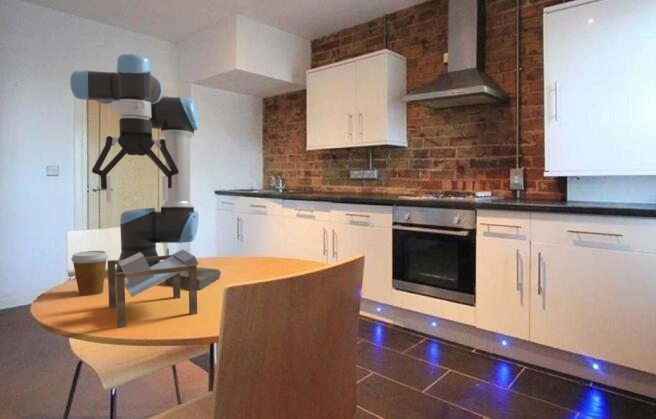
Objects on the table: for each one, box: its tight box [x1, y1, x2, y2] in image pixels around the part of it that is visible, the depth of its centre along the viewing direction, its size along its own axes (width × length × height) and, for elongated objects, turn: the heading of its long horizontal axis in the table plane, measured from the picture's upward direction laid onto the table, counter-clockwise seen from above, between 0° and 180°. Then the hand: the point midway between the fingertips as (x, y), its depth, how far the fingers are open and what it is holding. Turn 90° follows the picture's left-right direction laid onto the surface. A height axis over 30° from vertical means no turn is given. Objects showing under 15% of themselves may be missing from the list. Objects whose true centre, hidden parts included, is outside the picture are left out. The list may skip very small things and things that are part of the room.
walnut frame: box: [107, 253, 198, 329], centre depth 105 cm, size 18×18×13 cm
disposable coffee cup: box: [70, 250, 109, 296], centre depth 121 cm, size 10×10×12 cm
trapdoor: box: [124, 248, 199, 298], centre depth 106 cm, size 15×17×2 cm
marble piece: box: [164, 267, 222, 291], centre depth 134 cm, size 17×15×4 cm
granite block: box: [118, 252, 154, 287], centre depth 103 cm, size 6×6×6 cm
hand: (138, 201), depth 105 cm, fingers open, 13 cm apart
